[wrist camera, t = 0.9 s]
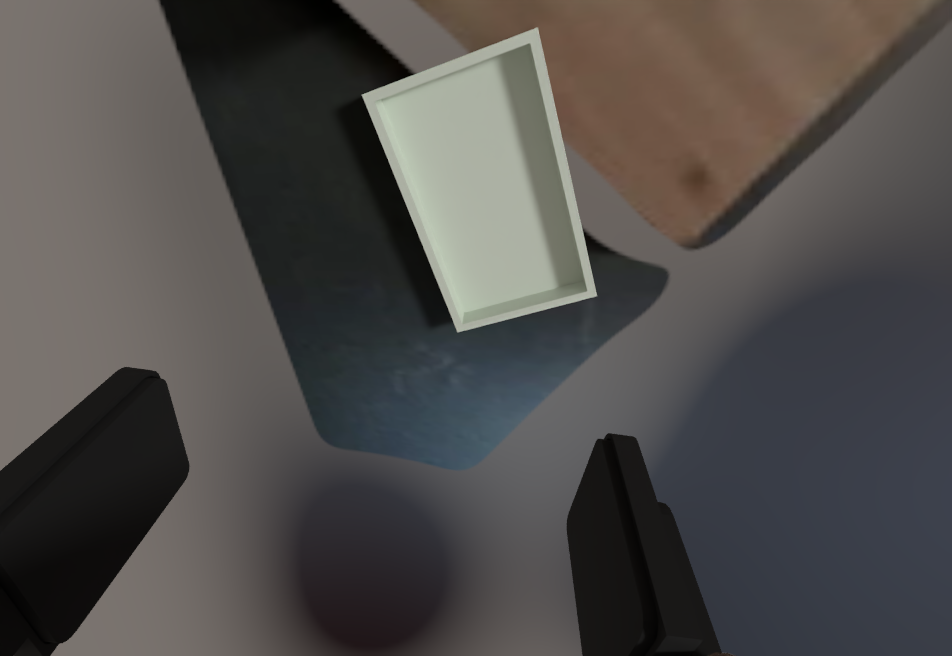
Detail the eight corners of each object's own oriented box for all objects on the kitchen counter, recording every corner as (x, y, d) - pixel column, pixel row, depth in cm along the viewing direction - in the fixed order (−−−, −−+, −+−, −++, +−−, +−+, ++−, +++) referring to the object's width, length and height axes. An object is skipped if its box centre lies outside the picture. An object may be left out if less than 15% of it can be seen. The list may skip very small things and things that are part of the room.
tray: (371, 91, 31) (361, 94, 29) (534, 29, 29) (537, 27, 27) (459, 317, 40) (457, 332, 37) (591, 282, 37) (597, 296, 35)
